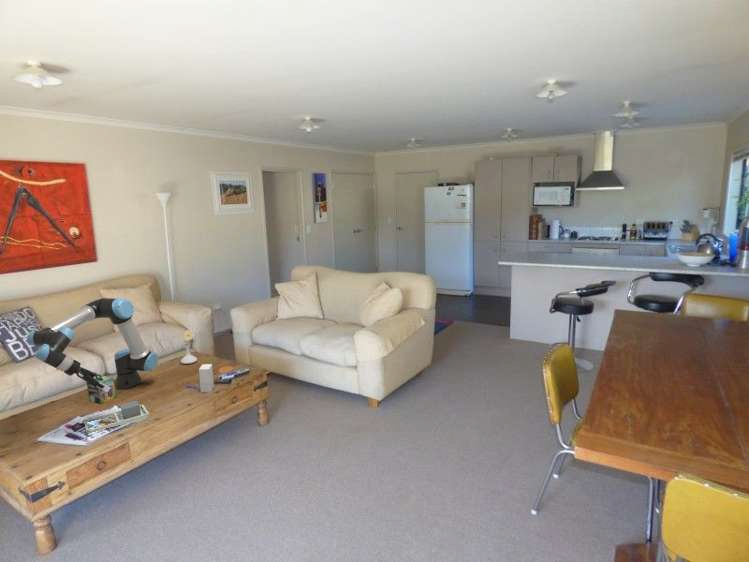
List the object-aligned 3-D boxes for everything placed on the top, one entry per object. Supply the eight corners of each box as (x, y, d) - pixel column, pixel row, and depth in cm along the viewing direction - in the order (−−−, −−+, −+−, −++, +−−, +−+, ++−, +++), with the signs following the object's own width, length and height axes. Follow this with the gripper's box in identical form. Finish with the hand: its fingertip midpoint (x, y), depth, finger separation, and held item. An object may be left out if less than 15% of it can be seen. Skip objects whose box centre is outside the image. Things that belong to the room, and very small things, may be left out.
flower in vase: (177, 364, 332) (173, 331, 328) (188, 359, 343) (184, 326, 338) (191, 366, 328) (188, 332, 323) (202, 360, 338) (199, 328, 334)
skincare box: (204, 387, 290) (201, 364, 288) (215, 386, 291) (212, 363, 288) (200, 393, 282) (198, 369, 279) (211, 392, 283) (209, 368, 280)
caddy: (87, 436, 233) (87, 431, 233) (84, 425, 245) (83, 420, 245) (149, 418, 251) (149, 413, 250) (143, 409, 262) (143, 404, 262)
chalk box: (116, 397, 246) (113, 371, 243) (100, 404, 238) (96, 377, 235) (105, 395, 250) (101, 369, 247) (88, 402, 241) (85, 375, 239)
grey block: (124, 421, 246) (123, 409, 245) (122, 416, 253) (120, 404, 251) (141, 417, 251) (139, 405, 250) (138, 411, 257) (136, 400, 256)
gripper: (61, 365, 240) (98, 385, 252) (65, 378, 222) (105, 399, 233) (71, 353, 243) (108, 374, 254) (76, 365, 224) (115, 387, 236)
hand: (107, 386), depth 244 cm, fingers closed on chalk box, 12 cm apart
